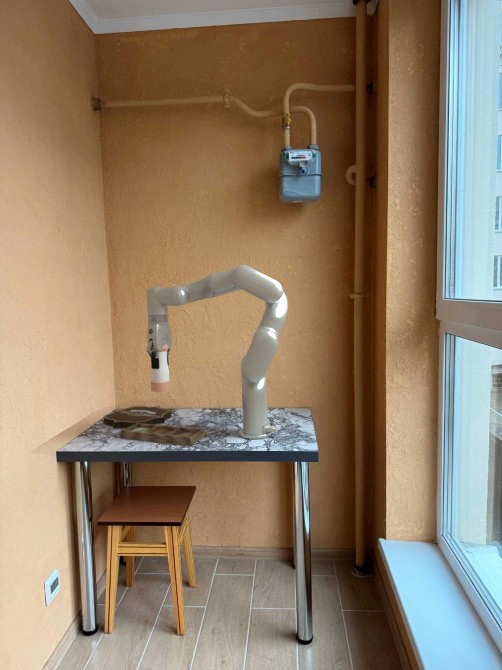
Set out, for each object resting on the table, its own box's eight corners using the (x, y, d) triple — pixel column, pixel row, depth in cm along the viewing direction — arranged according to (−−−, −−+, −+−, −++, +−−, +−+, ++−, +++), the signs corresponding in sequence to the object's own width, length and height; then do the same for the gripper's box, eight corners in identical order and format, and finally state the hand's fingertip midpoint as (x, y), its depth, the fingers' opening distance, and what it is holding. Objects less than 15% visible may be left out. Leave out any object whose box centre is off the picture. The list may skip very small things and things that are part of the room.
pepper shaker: (155, 388, 182) (152, 339, 180) (173, 388, 181) (171, 339, 179) (148, 392, 174) (146, 341, 173) (167, 392, 173) (164, 341, 172)
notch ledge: (205, 436, 178) (204, 429, 178) (190, 446, 168) (190, 438, 168) (137, 430, 190) (137, 422, 189) (120, 438, 180) (120, 430, 179)
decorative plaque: (185, 408, 212) (141, 426, 185) (185, 415, 212) (141, 434, 186) (135, 403, 226) (87, 419, 199) (135, 409, 226) (87, 425, 200)
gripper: (153, 321, 166) (155, 371, 167) (178, 318, 181) (180, 364, 183) (135, 321, 168) (138, 370, 170) (162, 318, 184) (164, 363, 186)
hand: (160, 366), depth 177 cm, fingers closed on pepper shaker, 5 cm apart
